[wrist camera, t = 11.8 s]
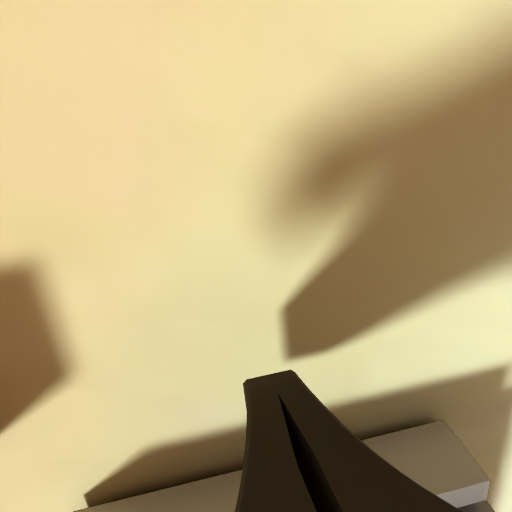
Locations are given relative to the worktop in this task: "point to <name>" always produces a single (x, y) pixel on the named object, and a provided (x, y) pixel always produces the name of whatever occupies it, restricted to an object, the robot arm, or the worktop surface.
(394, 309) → the worktop surface
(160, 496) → the tray
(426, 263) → the worktop surface
